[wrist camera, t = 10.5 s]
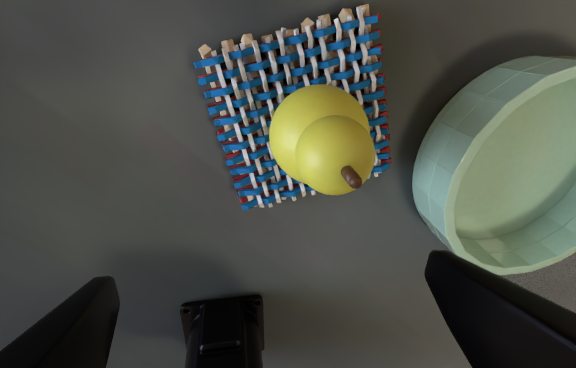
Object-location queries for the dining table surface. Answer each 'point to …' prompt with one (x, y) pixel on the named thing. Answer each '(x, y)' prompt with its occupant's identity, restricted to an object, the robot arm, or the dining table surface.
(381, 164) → the woven mat
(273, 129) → the pear
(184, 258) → the dining table surface
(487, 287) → the robot arm
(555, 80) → the pan
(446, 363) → the dining table surface
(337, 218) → the dining table surface
